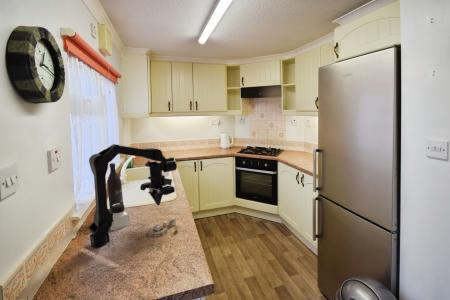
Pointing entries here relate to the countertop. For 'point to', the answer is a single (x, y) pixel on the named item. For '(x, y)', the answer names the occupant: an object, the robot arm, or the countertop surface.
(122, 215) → the printed carton box
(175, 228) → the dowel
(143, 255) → the countertop surface
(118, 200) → the wine bottle
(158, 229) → the grey shiny ball
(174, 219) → the ring with handle
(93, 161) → the robot arm
